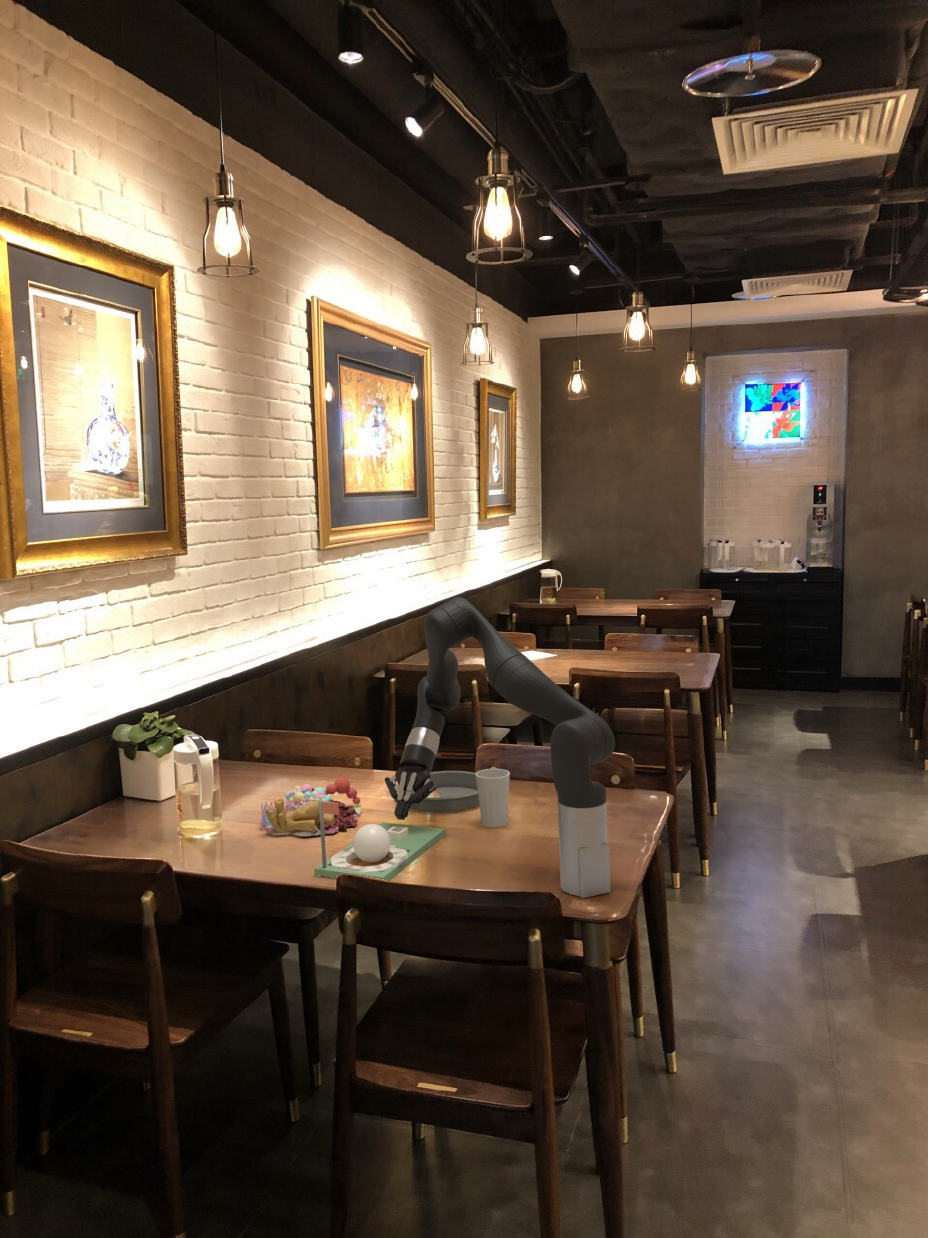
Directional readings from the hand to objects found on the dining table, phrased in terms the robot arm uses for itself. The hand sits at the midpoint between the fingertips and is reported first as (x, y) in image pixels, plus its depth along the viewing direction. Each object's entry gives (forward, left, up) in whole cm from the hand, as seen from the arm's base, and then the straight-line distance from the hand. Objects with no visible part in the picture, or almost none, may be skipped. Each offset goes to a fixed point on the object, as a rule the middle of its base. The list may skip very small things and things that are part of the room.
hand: (399, 818), depth 212 cm
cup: (+1, -24, -6) cm, 24 cm away
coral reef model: (+24, +15, -6) cm, 29 cm away
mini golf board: (-6, +6, -5) cm, 10 cm away
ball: (-9, +9, -1) cm, 13 cm away
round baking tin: (+24, -20, -6) cm, 32 cm away
